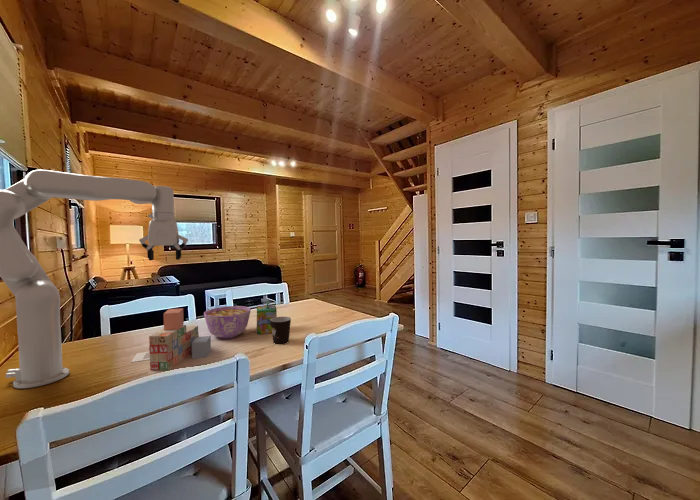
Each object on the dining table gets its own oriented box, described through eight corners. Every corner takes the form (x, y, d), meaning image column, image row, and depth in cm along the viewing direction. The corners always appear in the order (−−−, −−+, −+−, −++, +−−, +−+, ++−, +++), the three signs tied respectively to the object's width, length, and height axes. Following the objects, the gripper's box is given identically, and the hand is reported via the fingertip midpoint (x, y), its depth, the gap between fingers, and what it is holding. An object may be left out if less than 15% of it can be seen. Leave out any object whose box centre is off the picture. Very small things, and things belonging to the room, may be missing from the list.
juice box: (256, 329, 148) (256, 299, 147) (275, 327, 151) (275, 298, 150) (256, 335, 139) (256, 303, 139) (277, 333, 142) (276, 302, 141)
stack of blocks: (184, 348, 124) (183, 318, 124) (199, 347, 124) (198, 318, 124) (149, 371, 103) (148, 335, 102) (168, 370, 103) (167, 335, 102)
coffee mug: (293, 344, 127) (292, 320, 127) (272, 346, 124) (271, 322, 124) (288, 335, 138) (287, 314, 138) (268, 338, 135) (268, 316, 134)
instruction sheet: (131, 362, 109) (131, 361, 109) (136, 353, 118) (136, 353, 118) (169, 356, 114) (169, 356, 114) (172, 348, 123) (172, 348, 123)
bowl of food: (231, 345, 126) (230, 318, 126) (193, 340, 133) (193, 314, 132) (260, 331, 145) (259, 307, 145) (226, 327, 152) (225, 304, 151)
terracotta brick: (163, 330, 108) (163, 313, 108) (168, 325, 114) (168, 309, 114) (179, 328, 109) (179, 312, 109) (183, 323, 116) (183, 308, 116)
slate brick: (192, 358, 113) (191, 342, 112) (197, 351, 120) (196, 336, 119) (206, 357, 114) (206, 341, 114) (210, 350, 121) (210, 335, 120)
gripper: (134, 216, 116) (136, 261, 116) (184, 217, 120) (185, 259, 121) (142, 217, 123) (144, 259, 124) (189, 218, 127) (190, 258, 128)
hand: (164, 259), depth 122 cm, fingers open, 9 cm apart
